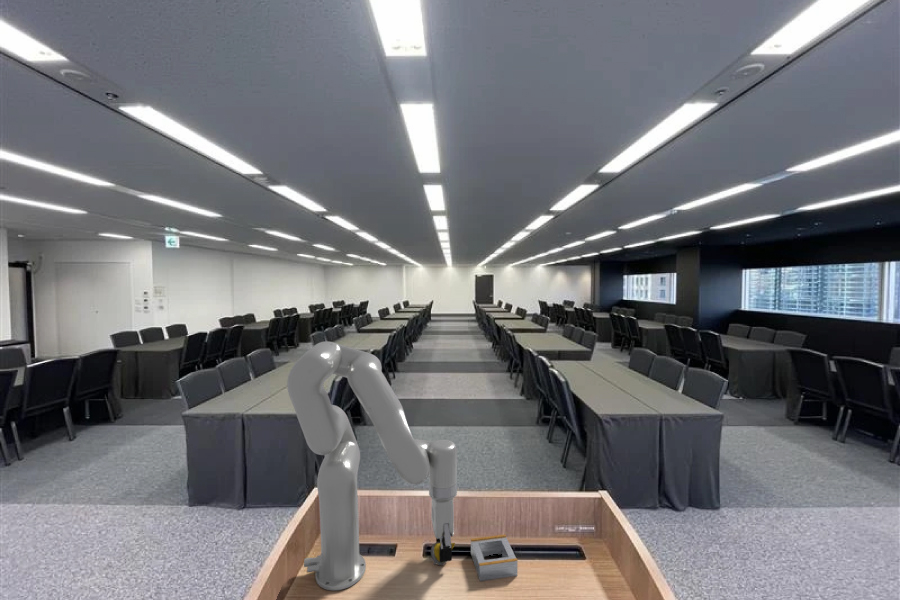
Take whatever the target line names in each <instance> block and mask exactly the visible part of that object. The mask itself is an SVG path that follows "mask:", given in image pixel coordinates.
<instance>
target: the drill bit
mask: <svg viewBox="0 0 900 600" xmlns="http://www.w3.org/2000/svg"><path fill="white" fill-rule="evenodd" d="M455 545H456V543H455V542H451V546H452V550H453V548H454V547H455ZM439 546H440V542H436V541H435V543H433V544H432V546H431V547H430V555H431V558H432V562H433V564H434V566H435V565H437V566H443V565H445V564H446V563H448V561H446V562H440V560H439Z"/></svg>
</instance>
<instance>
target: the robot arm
mask: <svg viewBox="0 0 900 600" xmlns="http://www.w3.org/2000/svg"><path fill="white" fill-rule="evenodd" d="M332 375H335V376H340V377H343V378H346V379H347V382H348V385H349V386H350V388H351V389H352V392H353V393H354V395H355V396H356V398H357V399H358V402H359V403H360V404H361V406H362V408H363V410H364V411H365V413H366V414H367V416H368V417H369V419H370V421H371V422H372V425H373V426H374V430H375V432H376V434H377V436H378V438H379V440H380V443H381V446H382V447H383V449H384V451H385V453H386V455H387V457H388V459H389V461H390V462H391V464H392V465H393V467H394V469H395V470H396V472H397V474H398V475H399V477H400V478H401V479H402V480H403V481H404V483H406V484H409V485H413V486H416V485H420V484H422V483H424V482H425V481H426V480H427V478H428V495H429V497H430V498H431V514H430V515H431V517H430V519H431V524H432V528H433V533H434V537H435V543H436V542H440V546H439V560H440V562H446V561H447V562H451V561H452V560H453V559H452V558H453V552H452V551H453V549H452V546H451V543H452V537H453V536H454V535H455V513H454V511H455V510H454V509H455V508H454V499H455V498H456V496H457V495H458V481H457V480H458V475H457V474H458V471H457V470H458V468H457V467H458V466H457V463H458V460H457V459H458V456H457V455H458V454H457V452H458V451H457V446H456V443H455V442H454V441H451V440H449V439H445V438H444V439H436V440H427V439H417V438H414V436H413V435H412V434H413V433H412V432H411V429H410V428H409V424H408V422H407V421H408V420H407V417H406V414H405V410H404V407H403V405H402V403H401V402H400V399H399V398H398V397H397V395H396V393H395V392H394V390H393V388H392V387H391V385H390V383H389V382H388V380H387V378H386V377H385V374H384V373H383V372H382V363H381V360H380V359H379V358H378V357H377V356H376V355H374V354H372V353H370V352H367V351H363V350H360V349H358V348H354V347H349V346H347V345H344V344H341V343H337V342H333V341H320V342H318V343H316V344H314V345H313V346H311V348H310V349H308V350H307V351H305V353H304V354H303V355H301V356H300V357H299V358H298V360H297V361H296V362H295V363H294V364H293V366H292V367H291V369H290V370H289V373H288V375H287V380H286V382H287V383H286V387H287V389H286V390H287V393H288V396H289V398H290V401H291V403H292V406H293V409H294V411H295V414H296V418H297V420H298V422H299V423H298V424H299V425H300V428H301V430H302V433H303V436H304V439H305V441H306V445H307V446H308V448H309V449H310V450H311V451H312V452H313V453H314V454H315V455H320V456H324V458H323V459H322V462H321V464H320V467H319V470H318V474H317V477H316V478H317V480H316V484H317V485H316V486H317V493H318V503H319V519H320V522H319V523H320V526H319V527H320V555H317V556H316V557H307V558H306V557H305V558H304V562H303V568H306V569H307V570H306V573H313V572H315V581H316V584H317V585H318V586H319V587H321V588H322V589H324V590H327V591H343V590H344V589H348V588H350V587H352V586H353V585H355V584H357V583H358V582H359V581H360V580H361V579H362V578H363V576H364V574H365V572H366V569H367V568H366V566H367V565H366V560H365V558H364V557H363V555H361V554H360V536H359V535H360V534H359V533H360V531H359V528H360V527H359V522H360V521H359V499H358V497H359V496H358V472H359V466H360V462H361V461H360V460H361V450H360V447H359V445H358V442H357V438H356V436H355V433H354V431H353V427H352V425H351V423H350V420H349V417H348V415H347V414H346V412H345V411H344V410H343V409H342V408H341V407H339V406H338V405H335V404H332V402H331V400H330V397H329V394H328V393H327V390H326V388H325V387H324V384H325V383H326V381H327V380H328V379H329V378H330V377H331V376H332ZM447 562H446V563H447Z"/></svg>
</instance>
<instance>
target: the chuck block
mask: <svg viewBox="0 0 900 600" xmlns="http://www.w3.org/2000/svg"><path fill="white" fill-rule="evenodd" d="M493 554H498V555H501V554H502V555H501V557H499V558H491V559H485V557H490V556H489V555H491V556H494V555H493ZM470 555H471V557H472V558H471V559H472V561H473V564H474V568H475V571H476V574H477V577H478V580H479V582H482V581H483V582H485V581H491V580H498V579H503V578H504V579H505V578H511V577H512V578H513V577H517V576H518V558H517V557H516V555H515V553H514V550H513V549H512V547H511V544H510V542H509V540H508V538H507V535H506V534H498V535H489V536H483V537H481V536H480V537H474V538H470Z"/></svg>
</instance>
